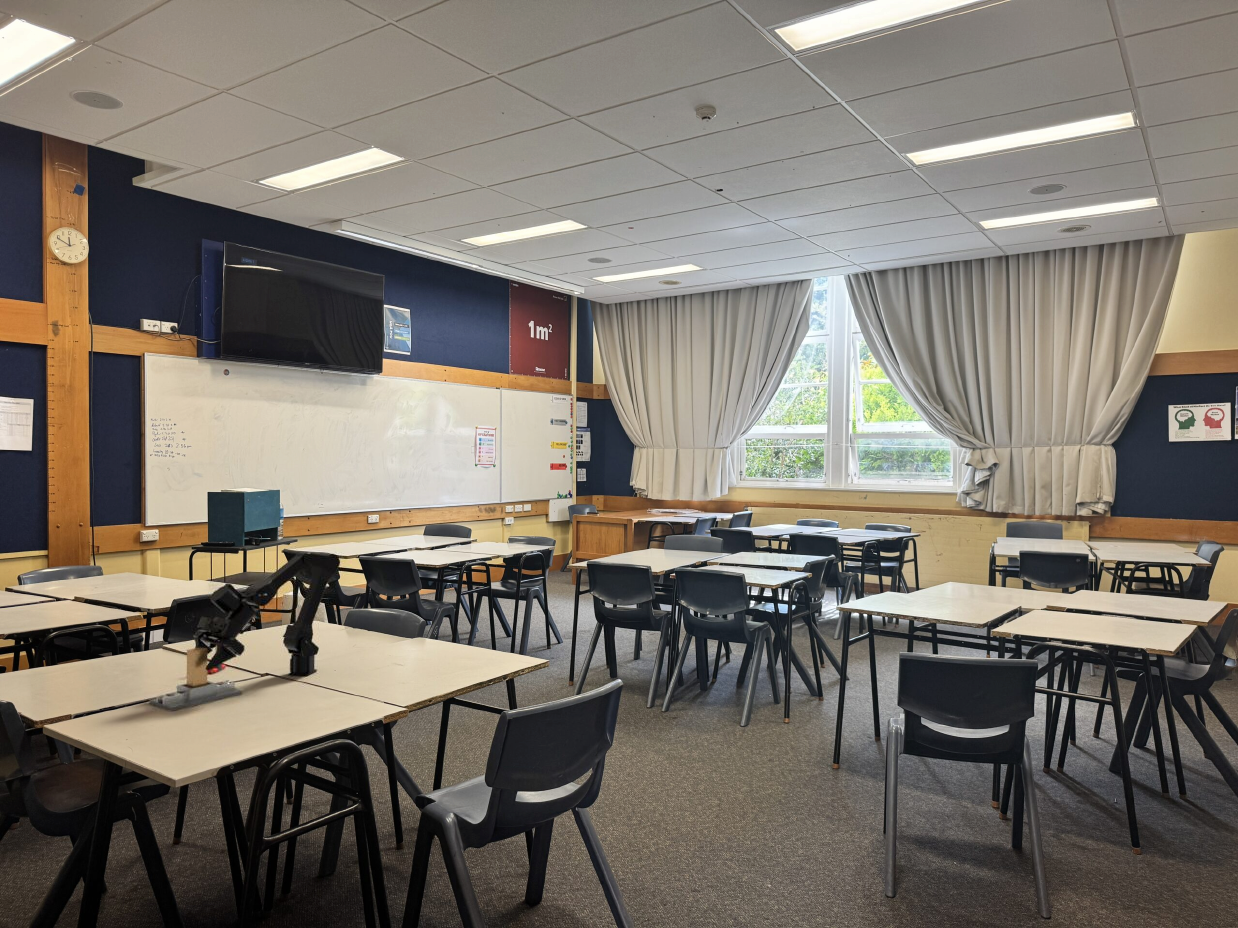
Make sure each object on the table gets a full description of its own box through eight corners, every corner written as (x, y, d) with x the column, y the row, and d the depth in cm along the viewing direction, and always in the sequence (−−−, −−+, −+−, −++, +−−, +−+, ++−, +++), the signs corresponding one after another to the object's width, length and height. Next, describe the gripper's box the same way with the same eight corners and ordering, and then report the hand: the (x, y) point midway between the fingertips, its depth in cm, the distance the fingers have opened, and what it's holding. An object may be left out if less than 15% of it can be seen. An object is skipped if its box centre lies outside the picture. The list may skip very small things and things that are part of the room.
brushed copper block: (200, 692, 226) (201, 647, 226) (207, 694, 224) (207, 648, 224) (186, 695, 223) (186, 649, 223) (193, 697, 221) (193, 651, 221)
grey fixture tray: (220, 687, 235) (220, 673, 235) (242, 693, 228) (242, 680, 228) (149, 703, 219) (149, 689, 219) (171, 711, 212) (171, 696, 212)
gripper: (199, 602, 233) (160, 646, 224) (234, 609, 223) (194, 655, 214) (225, 624, 240) (189, 668, 231) (260, 631, 229) (223, 678, 220)
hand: (198, 667), depth 224 cm, fingers open, 9 cm apart
